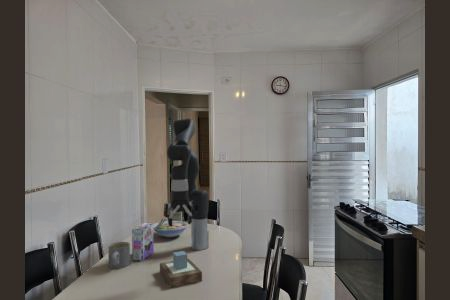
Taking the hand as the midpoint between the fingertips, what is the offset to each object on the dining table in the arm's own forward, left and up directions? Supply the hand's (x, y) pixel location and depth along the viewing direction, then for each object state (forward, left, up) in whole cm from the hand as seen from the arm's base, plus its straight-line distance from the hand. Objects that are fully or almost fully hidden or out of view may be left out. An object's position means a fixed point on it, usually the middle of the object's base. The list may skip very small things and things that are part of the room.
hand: (180, 225), depth 138 cm
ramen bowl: (-13, -63, -23) cm, 69 cm away
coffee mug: (+24, -25, -23) cm, 42 cm away
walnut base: (0, 0, -23) cm, 23 cm away
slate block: (0, 0, -19) cm, 19 cm away
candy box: (+10, -33, -23) cm, 42 cm away
